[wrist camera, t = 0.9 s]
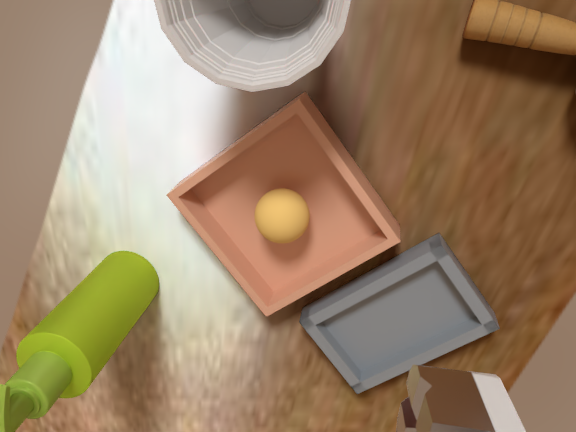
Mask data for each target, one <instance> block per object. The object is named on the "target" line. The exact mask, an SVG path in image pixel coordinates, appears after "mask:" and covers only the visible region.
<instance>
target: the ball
mask: <svg viewBox="0 0 576 432" xmlns="http://www.w3.org/2000/svg"><path fill="white" fill-rule="evenodd" d="M254 218H255V224H256V226H257V229H258V230H259V232H260V233H261V234H262V235H263V236H264V237H265V238H266V239H268V240H270V241H272V242H275V243H290V242H292V241H294V240H296V239H298V238H299V237H300V236H301V235H302V234H303V233H304V232H305V230H306V229H307V227H308V224H309V218H310V213H309V208H308V205H307V203H306V201H305V200H304V199H303V197H302V196H301V195H300V194H298V193H297V192H295V191H293V190H290V189H286V188H279V189H274V190H271V191H269V192H267V193H266V194H265V195H263V196H262V197H261V199H260V200H259V201H258V203H257V205H256V208H255V215H254Z"/></svg>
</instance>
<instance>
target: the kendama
mask: <svg viewBox="0 0 576 432" xmlns="http://www.w3.org/2000/svg"><path fill="white" fill-rule="evenodd" d="M463 38H465V39H472V40H479V41H485V40H487V41H488V42H493V43H501V44H506V45H514V46H517V47H523V48H528V47H529V48H530V49H534V50H539V51H545V52H552V53H559V54H568V55H576V23H575V22H573V21H570V20H567V19H563V18H560V17H557V16H554V15H550V14H547V13H541V12H539V11H536V10H533V9H526V8H525V7H522V6H519V5H513V4H512V3H508V2H505V1H499V0H473V3H472V6H471V9H470V12H469V15H468V18H467V21H466V25H465V28H464V32H463ZM575 94H576V90H575Z"/></svg>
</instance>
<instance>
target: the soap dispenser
mask: <svg viewBox="0 0 576 432" xmlns="http://www.w3.org/2000/svg"><path fill="white" fill-rule="evenodd" d="M158 289H159V279H158V275H157V273H156V271H155V269H154V267H153V266H152V265H151V264H150V263H149V262H148V261H147V260H146V259H145V258H143V257H142V256H140V255H138V254H136V253H133V252H129V251H118V252H114V253H112V254H110V255H108V256H107V257H106V258H105V259H104V260H103V261H102V262H101V263H100V264H99V265H98V266H97V267H96V268H95V269H94V270H93V271H92V272H91V273H90V274H89V275H88V276H87V277H86V278H85V279H84V280H83V281H82V282H81V283H80V284H79V285H78V286H77V287H76V288H75V289H74V290H73V291H72V292H71V293H70V294H69V295H68V296H66V297H65V298H64V299H63V300H62V301H61V302H60V303H59V304H58V305H57V306H56V307H55V308H54V309H53V310H52V311H51V312H50V313H49V314H48V315H47V316H46V317H45V318H44V319H43V320H42V321H41V322H40V323H39V324H38V325H37V326H36V327H35V328H34V329H33V330H32V331H31V332H30V333H29V334H28V335H27V336H26V337H25V338H24V339H23V340H22V341H21V342H20V344H19V346H18V348H17V354H16V357H17V363H18V366H19V370H18V371H17V372H16V373H15V374H14V375H13V376H12V377H11V378H10V379H9V380H8V381H7V382H6V384H5V385H2V384H0V432H15V431H16V430H17V429H18V427H19V426H20V425H21V424H22V423H23V421H24V420H25V419H26V418H28V419H37V418H40V417H42V416H44V415H45V414H46V413H47V412H48V411H49V409H50V408H51V407H52V406H53V404H54V403H55V402H56V400H57V399H58V398H73V397H76V396H79V395H81V394H82V393H84V392H85V391H86V390H87V389H88V387H89V386H90V385H91V383H92V382H93V381H94V379H95V378H96V376H97V375H98V374H99V372H100V371H101V370H102V368H103V367H104V366H105V364H106V363H107V361H108V360H109V359H110V357H111V356H112V355H113V353H114V352H115V351H116V349H117V348H118V346H119V345H120V344H121V342H122V341H123V340H124V338H125V337H126V336H127V334H128V333H129V331H130V330H131V329H132V327H133V326H134V325H135V323H136V322H137V321H138V319H139V318H140V316H141V315H142V314H143V312H144V311H145V310H146V308H147V307H148V306H149V304H150V303H151V301H152V300H153V299H154V297H155V296H156V294H157V292H158Z"/></svg>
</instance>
